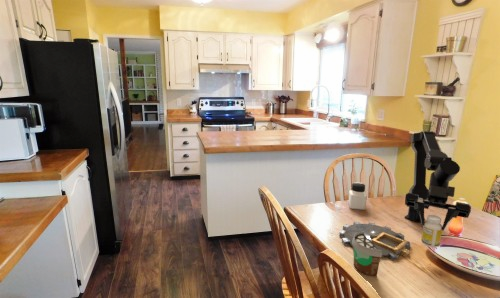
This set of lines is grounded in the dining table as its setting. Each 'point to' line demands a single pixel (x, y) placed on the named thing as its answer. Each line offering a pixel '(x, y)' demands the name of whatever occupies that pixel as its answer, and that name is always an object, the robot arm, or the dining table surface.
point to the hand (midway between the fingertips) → (432, 227)
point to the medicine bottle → (357, 196)
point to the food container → (365, 255)
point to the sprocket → (377, 238)
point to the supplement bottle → (432, 231)
